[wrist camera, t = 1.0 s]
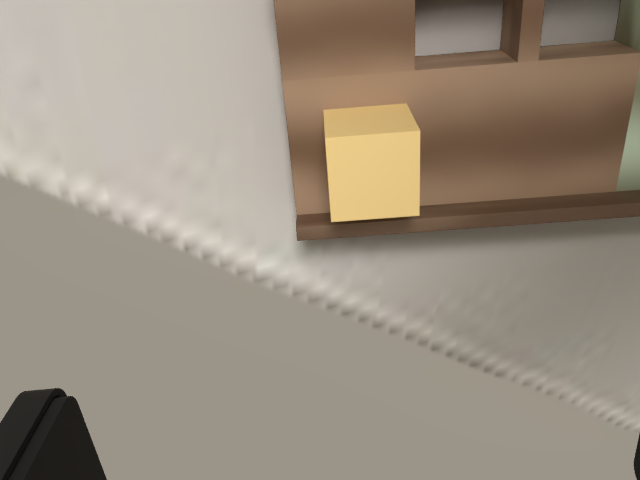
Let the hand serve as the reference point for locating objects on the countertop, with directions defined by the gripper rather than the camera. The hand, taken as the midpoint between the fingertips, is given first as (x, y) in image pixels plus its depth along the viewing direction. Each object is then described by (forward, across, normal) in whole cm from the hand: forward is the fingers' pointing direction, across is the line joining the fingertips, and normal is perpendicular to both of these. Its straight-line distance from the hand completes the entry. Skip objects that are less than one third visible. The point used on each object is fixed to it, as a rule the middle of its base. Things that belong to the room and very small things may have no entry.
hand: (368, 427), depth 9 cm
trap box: (+25, -10, 0) cm, 26 cm away
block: (+22, -2, +2) cm, 22 cm away
